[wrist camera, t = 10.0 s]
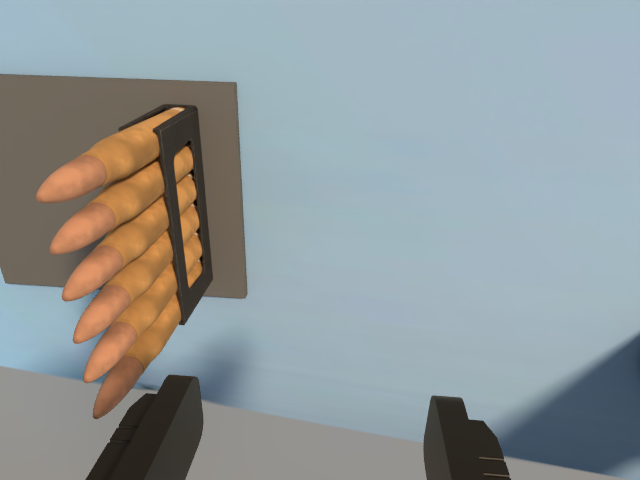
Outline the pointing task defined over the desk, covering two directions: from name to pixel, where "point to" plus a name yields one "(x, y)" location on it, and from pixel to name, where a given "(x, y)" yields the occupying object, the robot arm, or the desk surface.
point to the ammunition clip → (135, 242)
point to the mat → (79, 137)
